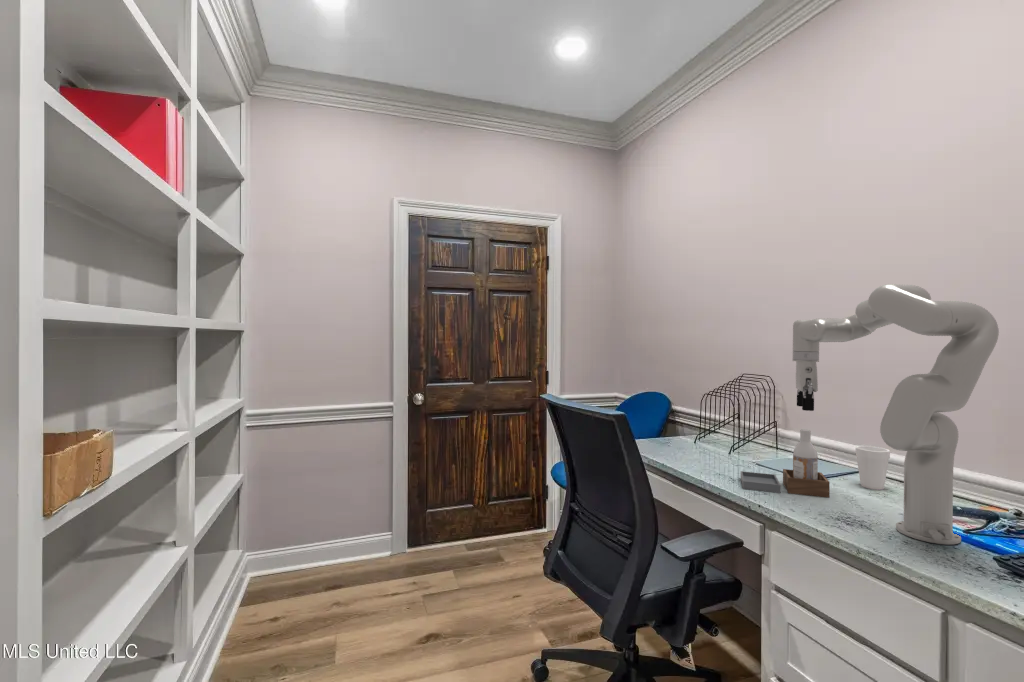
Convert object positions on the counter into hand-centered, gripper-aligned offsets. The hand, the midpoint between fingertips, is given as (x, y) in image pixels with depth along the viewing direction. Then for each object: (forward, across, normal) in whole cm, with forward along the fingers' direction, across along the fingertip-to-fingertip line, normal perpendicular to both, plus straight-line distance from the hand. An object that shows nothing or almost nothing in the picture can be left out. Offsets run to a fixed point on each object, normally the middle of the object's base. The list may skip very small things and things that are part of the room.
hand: (805, 408), depth 158 cm
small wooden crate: (+27, 0, 0) cm, 27 cm away
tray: (+27, 0, +13) cm, 30 cm away
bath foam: (+28, 0, 0) cm, 28 cm away
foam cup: (+27, +13, -22) cm, 37 cm away
